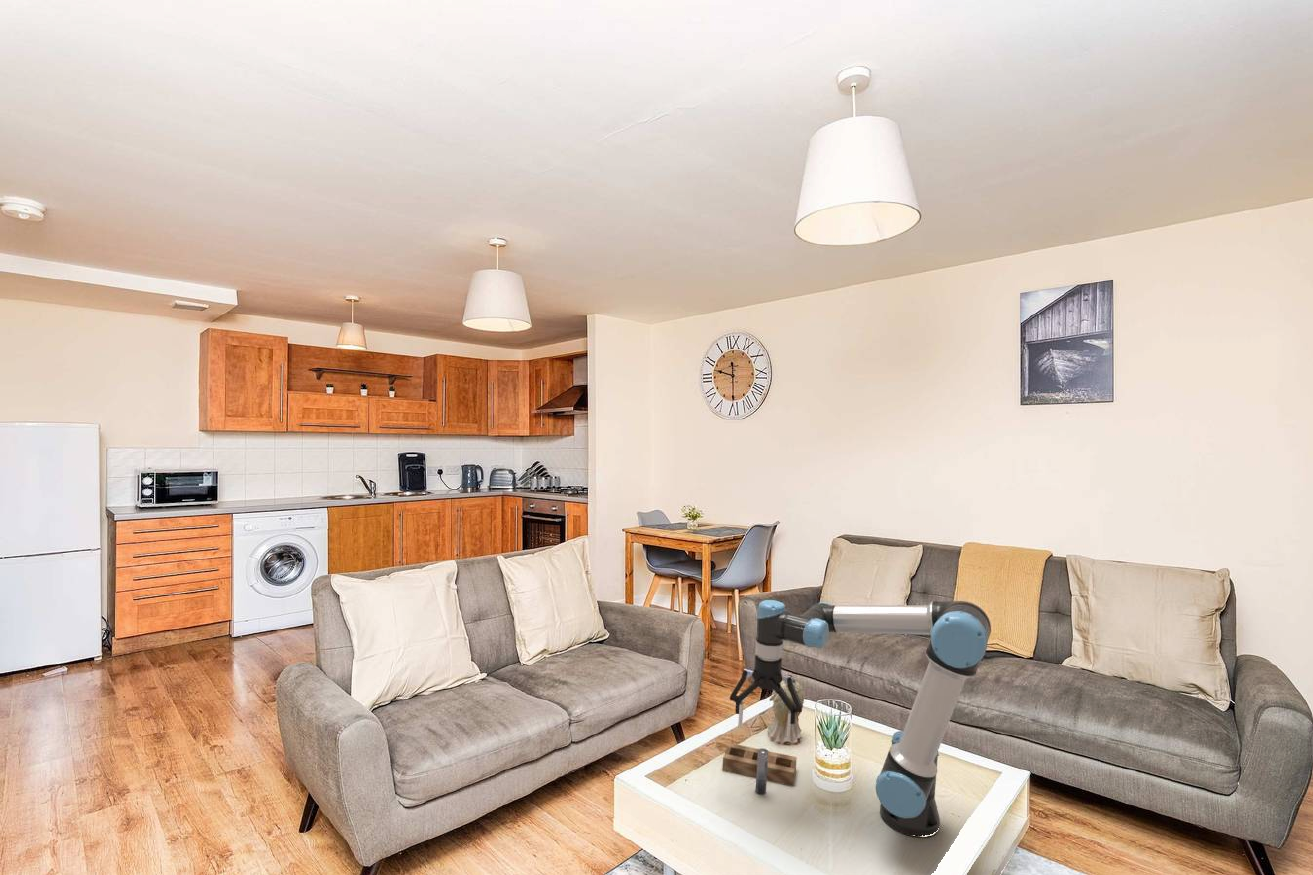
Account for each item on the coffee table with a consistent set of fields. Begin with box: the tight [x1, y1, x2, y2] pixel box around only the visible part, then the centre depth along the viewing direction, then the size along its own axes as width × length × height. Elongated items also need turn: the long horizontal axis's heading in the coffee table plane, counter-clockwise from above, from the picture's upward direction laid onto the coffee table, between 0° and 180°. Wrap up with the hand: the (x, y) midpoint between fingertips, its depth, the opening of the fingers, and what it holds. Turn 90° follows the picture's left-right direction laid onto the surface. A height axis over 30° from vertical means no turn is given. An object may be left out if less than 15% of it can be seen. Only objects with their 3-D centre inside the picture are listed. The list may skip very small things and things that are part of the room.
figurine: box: [767, 678, 805, 747], centre depth 215 cm, size 12×12×20 cm
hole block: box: [721, 742, 797, 787], centre depth 195 cm, size 21×9×4 cm, turn 73°
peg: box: [755, 748, 769, 796], centre depth 184 cm, size 3×3×12 cm
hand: (764, 729), depth 183 cm, fingers open, 13 cm apart
